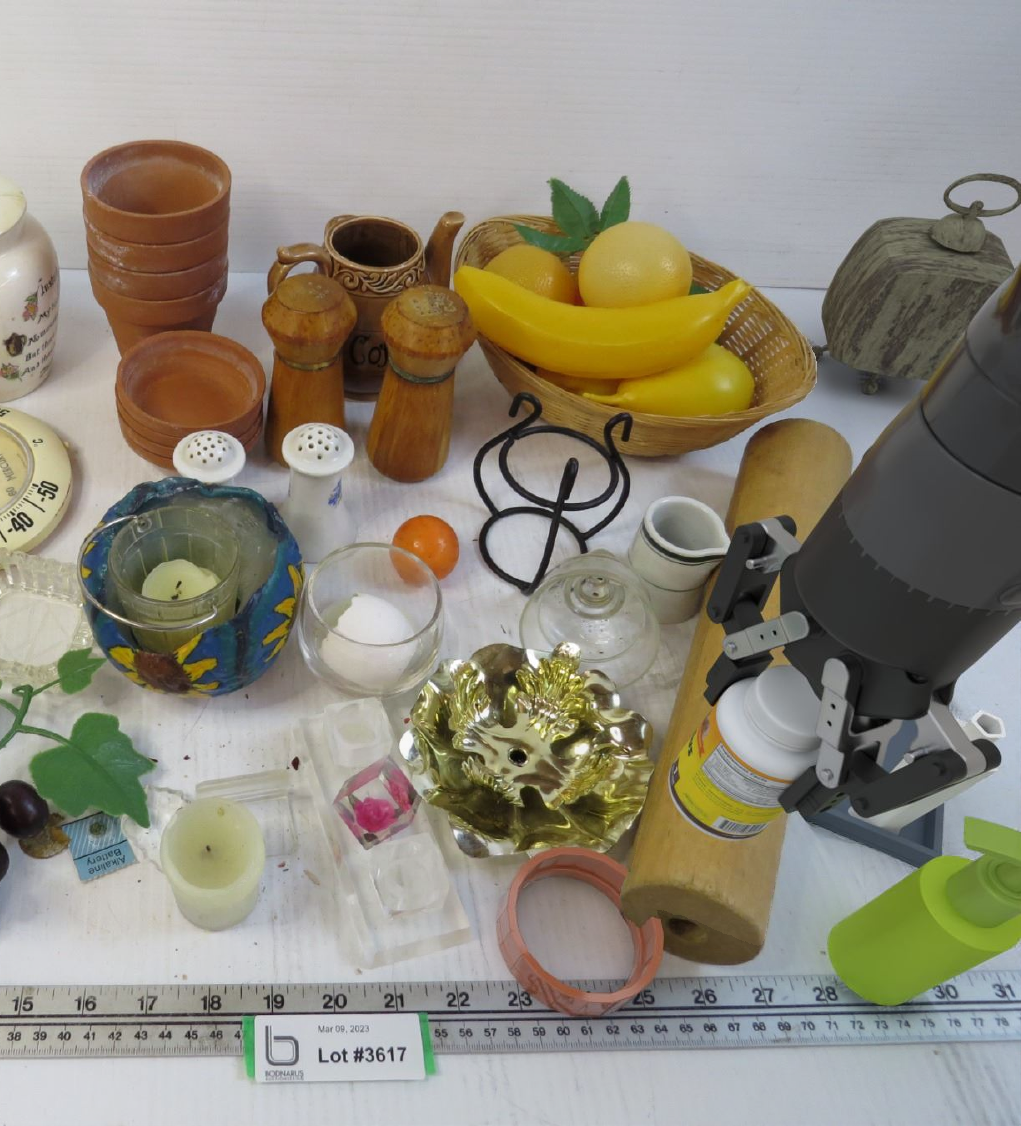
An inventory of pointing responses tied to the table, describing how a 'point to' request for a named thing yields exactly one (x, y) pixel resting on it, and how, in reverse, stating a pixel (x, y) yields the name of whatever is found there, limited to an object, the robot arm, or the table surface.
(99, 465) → the table surface
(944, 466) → the robot arm
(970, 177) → the tabletop clock
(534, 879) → the faceted terracotta bangle
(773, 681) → the supplement bottle
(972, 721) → the perfume bottle
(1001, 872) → the soap dispenser
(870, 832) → the tray
